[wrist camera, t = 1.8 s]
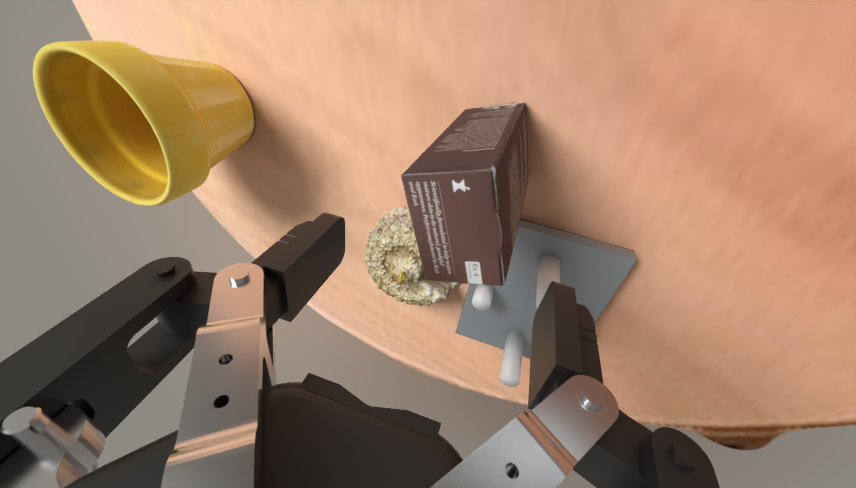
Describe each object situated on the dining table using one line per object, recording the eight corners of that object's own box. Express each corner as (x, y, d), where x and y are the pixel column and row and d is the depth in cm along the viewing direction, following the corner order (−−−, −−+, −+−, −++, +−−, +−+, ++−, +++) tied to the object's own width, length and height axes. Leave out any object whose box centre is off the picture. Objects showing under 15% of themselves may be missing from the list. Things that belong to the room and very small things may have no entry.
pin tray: (633, 250, 25) (652, 306, 20) (563, 360, 34) (564, 418, 29) (491, 211, 27) (477, 254, 22) (457, 324, 35) (442, 373, 30)
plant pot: (148, 67, 30) (5, 85, 22) (218, 9, 25) (68, 6, 17) (223, 174, 34) (125, 221, 26) (295, 142, 29) (202, 187, 21)
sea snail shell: (389, 284, 36) (363, 318, 32) (363, 200, 32) (329, 227, 27) (478, 294, 32) (461, 334, 28) (464, 198, 27) (441, 231, 23)
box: (459, 109, 24) (396, 172, 14) (526, 100, 22) (505, 164, 13) (469, 188, 27) (422, 284, 17) (528, 186, 25) (513, 289, 16)
